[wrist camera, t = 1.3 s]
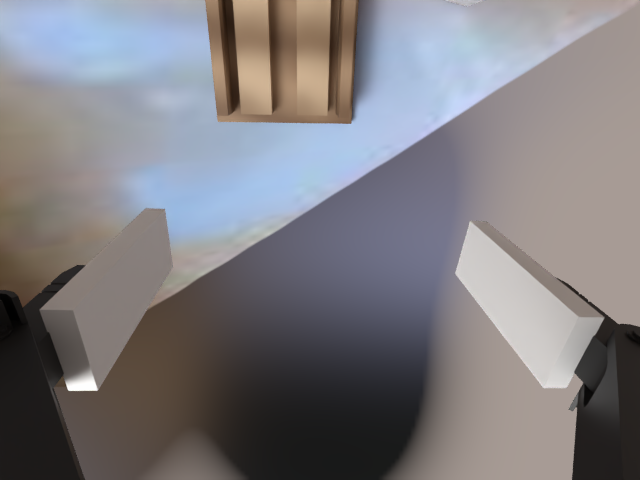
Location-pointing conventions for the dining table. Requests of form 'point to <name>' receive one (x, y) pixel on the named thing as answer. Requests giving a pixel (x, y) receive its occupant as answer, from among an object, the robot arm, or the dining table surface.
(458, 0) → the milk carton
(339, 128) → the dining table surface
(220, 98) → the display stand
